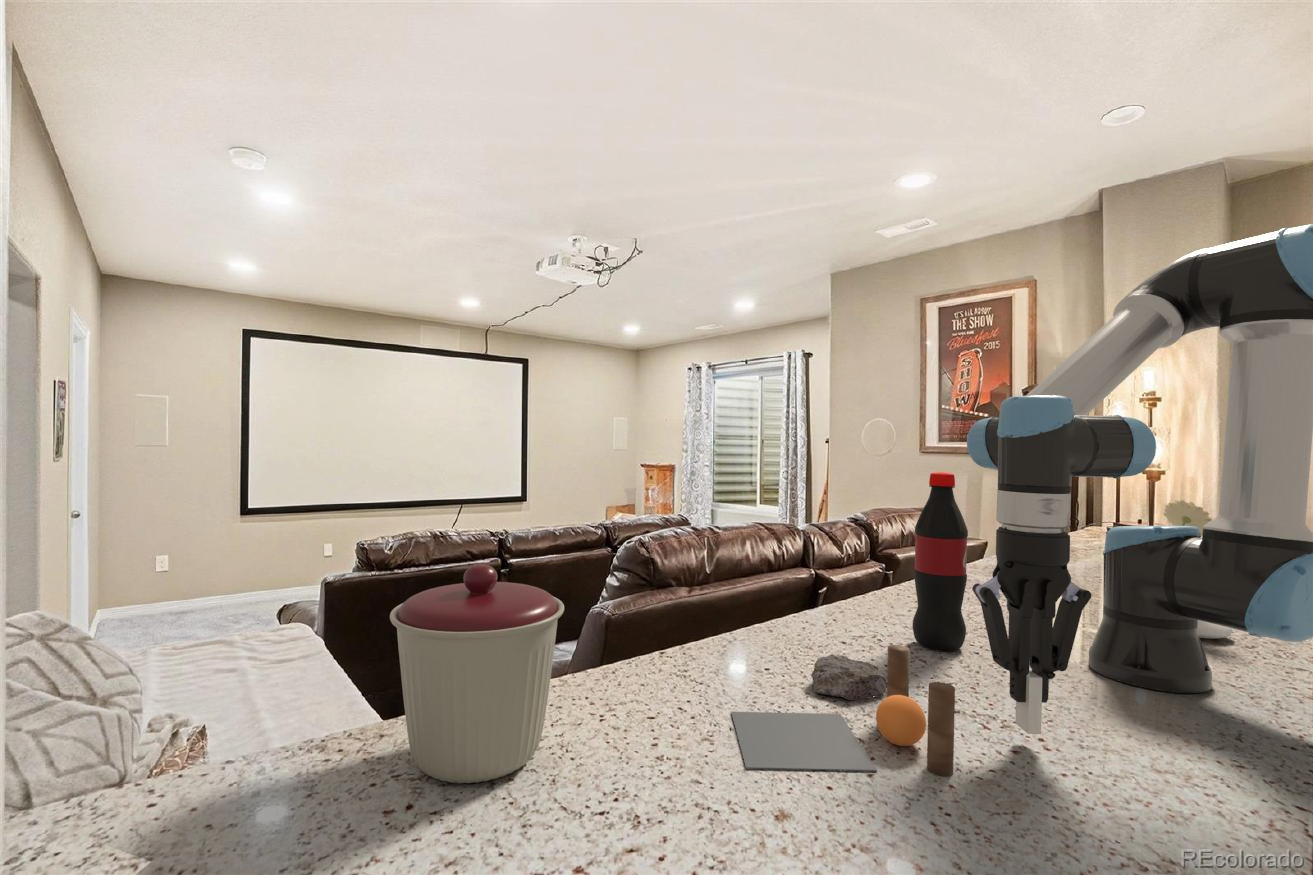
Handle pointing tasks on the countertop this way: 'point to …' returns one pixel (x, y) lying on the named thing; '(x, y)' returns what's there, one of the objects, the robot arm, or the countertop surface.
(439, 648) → the canister
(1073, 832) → the countertop surface
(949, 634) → the cola bottle
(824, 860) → the countertop surface
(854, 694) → the rock
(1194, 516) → the flower in vase
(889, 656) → the post
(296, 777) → the countertop surface
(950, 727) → the post
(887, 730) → the ball
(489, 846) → the countertop surface
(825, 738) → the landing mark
